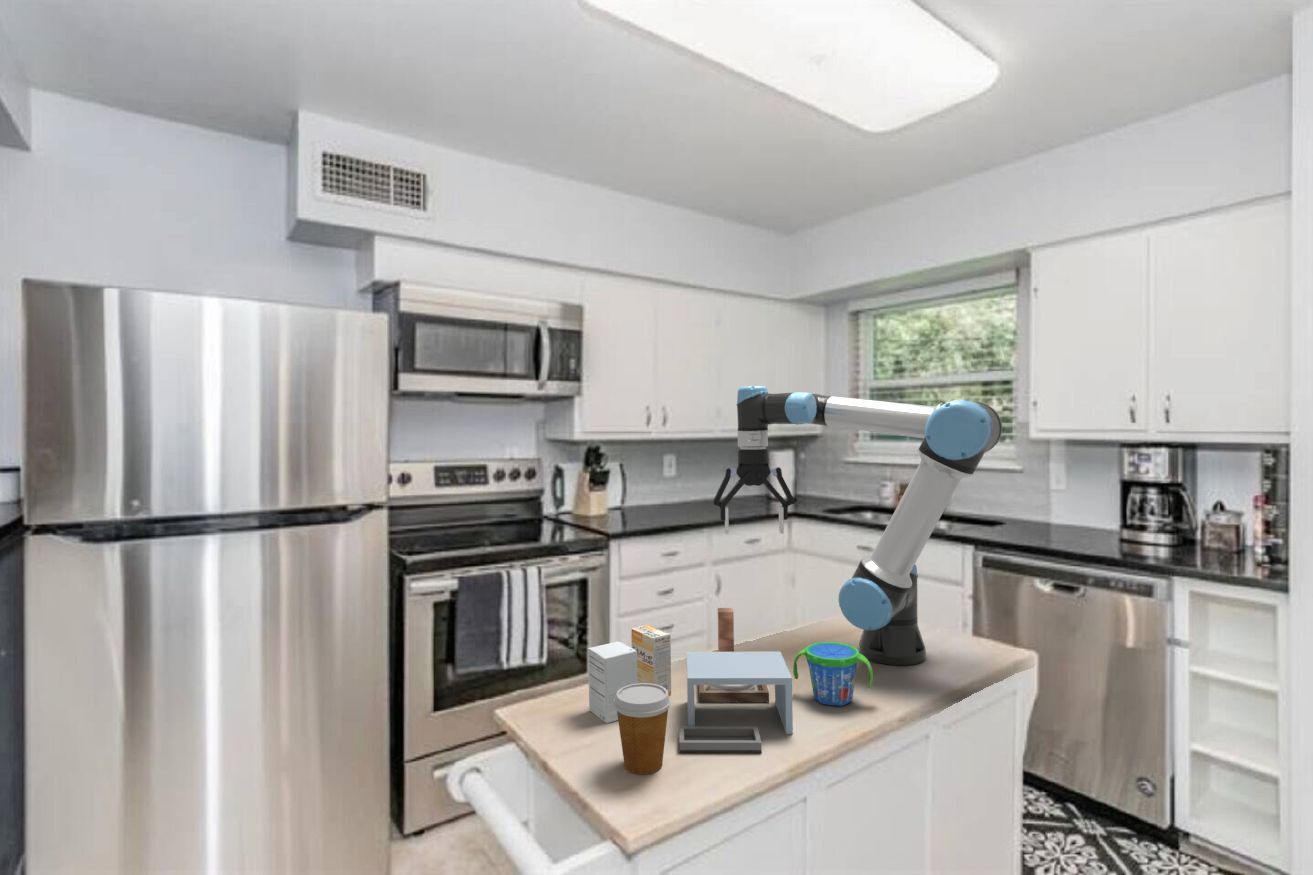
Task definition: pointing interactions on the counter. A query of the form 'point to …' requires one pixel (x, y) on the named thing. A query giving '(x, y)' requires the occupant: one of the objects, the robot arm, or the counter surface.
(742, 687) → the round grey tin
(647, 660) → the supplement box
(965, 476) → the robot arm
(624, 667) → the supplement box
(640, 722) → the disposable coffee cup
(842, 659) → the snack cup
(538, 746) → the counter surface
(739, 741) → the tray
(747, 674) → the tunnel
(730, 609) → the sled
